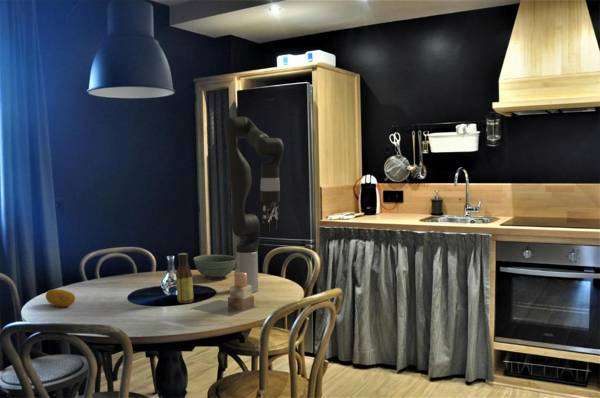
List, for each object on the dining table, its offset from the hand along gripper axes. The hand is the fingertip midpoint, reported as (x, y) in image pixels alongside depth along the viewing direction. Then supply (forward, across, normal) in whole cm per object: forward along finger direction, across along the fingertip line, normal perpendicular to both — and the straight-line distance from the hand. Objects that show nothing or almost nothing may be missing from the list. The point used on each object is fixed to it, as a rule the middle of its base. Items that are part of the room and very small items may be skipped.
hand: (270, 231), depth 223 cm
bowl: (+30, +42, +43) cm, 66 cm away
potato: (+30, -23, +79) cm, 88 cm away
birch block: (+24, -10, +8) cm, 27 cm away
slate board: (+29, -12, +14) cm, 35 cm away
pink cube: (+20, -10, +8) cm, 24 cm away
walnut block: (+28, -10, +8) cm, 31 cm away
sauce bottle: (+29, -7, +34) cm, 45 cm away
